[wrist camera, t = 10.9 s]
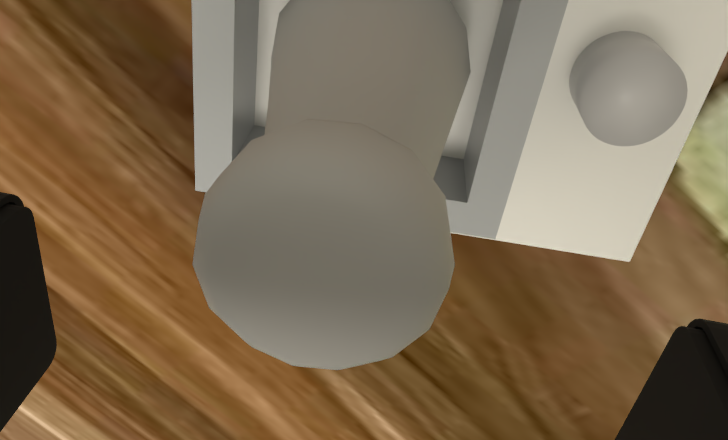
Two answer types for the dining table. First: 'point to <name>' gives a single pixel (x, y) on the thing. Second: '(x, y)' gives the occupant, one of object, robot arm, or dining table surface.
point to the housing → (514, 110)
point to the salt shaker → (340, 186)
